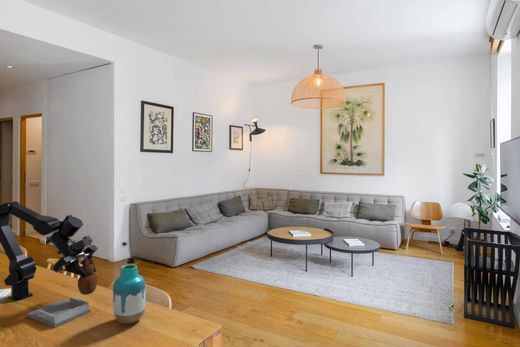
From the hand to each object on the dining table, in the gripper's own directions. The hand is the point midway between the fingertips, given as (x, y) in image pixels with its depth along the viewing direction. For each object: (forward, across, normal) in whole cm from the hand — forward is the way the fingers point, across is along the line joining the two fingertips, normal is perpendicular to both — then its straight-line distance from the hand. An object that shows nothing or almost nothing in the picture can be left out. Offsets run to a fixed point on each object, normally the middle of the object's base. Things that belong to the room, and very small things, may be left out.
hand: (90, 274), depth 128 cm
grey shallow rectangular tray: (+4, -10, +12) cm, 16 cm away
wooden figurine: (+5, 0, +6) cm, 8 cm away
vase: (+24, -10, -8) cm, 27 cm away
